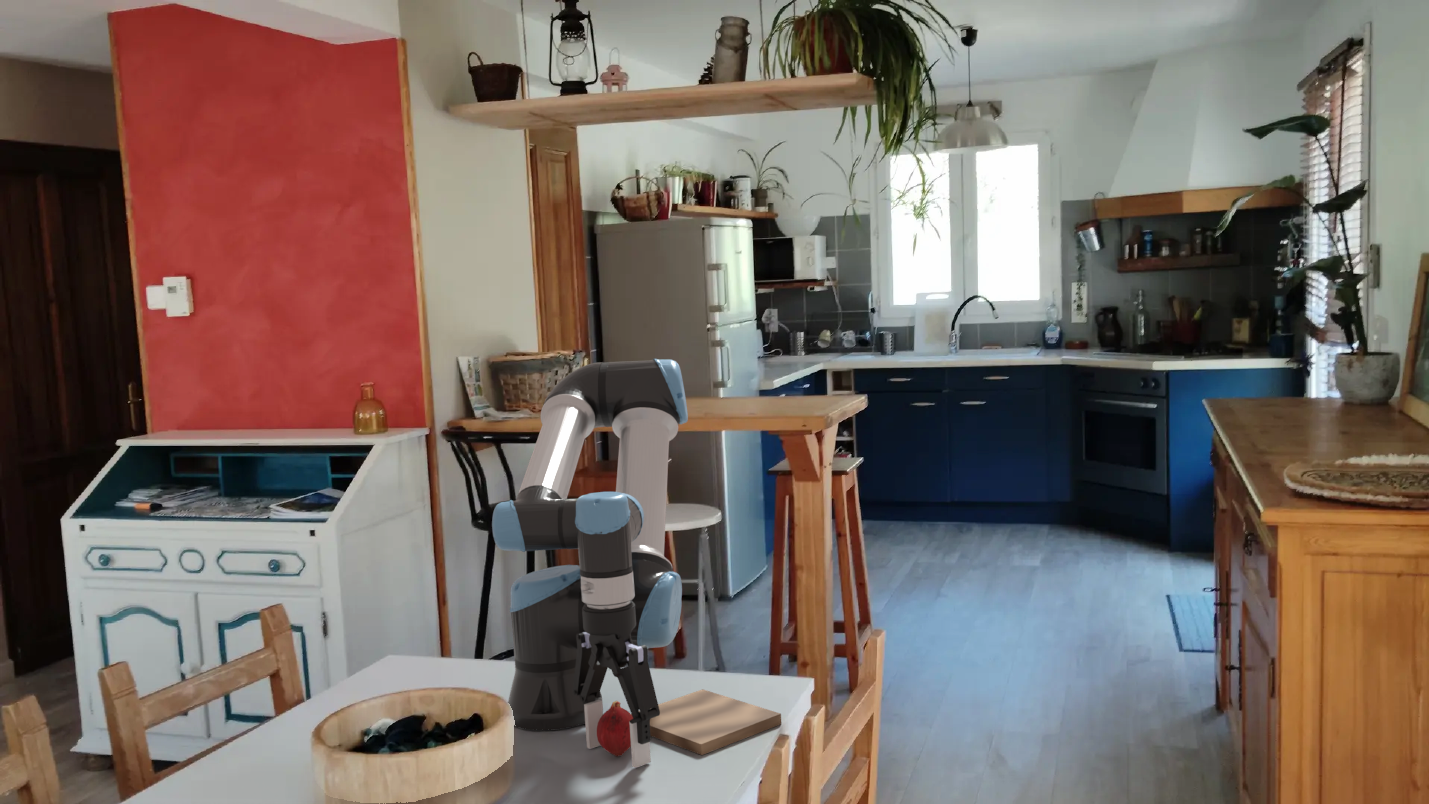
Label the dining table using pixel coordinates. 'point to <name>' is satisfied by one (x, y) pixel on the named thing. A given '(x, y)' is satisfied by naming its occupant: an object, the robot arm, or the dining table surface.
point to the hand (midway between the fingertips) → (618, 754)
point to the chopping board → (709, 721)
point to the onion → (615, 730)
